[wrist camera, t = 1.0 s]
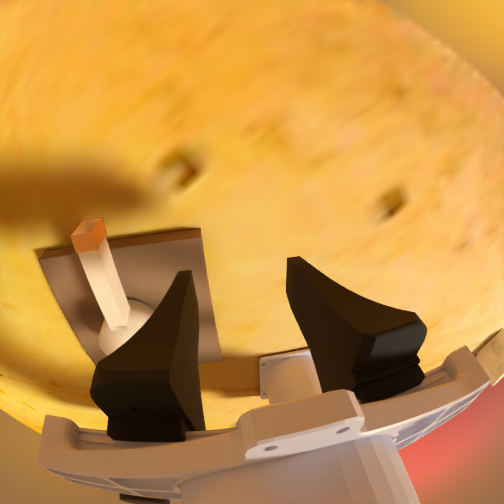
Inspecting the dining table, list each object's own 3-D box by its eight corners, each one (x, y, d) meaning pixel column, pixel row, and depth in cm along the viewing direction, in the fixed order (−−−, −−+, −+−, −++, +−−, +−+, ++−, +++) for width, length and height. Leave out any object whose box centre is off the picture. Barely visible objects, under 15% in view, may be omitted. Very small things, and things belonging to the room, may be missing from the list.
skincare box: (474, 361, 52) (492, 387, 43) (477, 351, 48) (497, 379, 40) (498, 338, 50) (517, 362, 41) (502, 327, 47) (523, 352, 38)
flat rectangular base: (220, 349, 28) (221, 361, 27) (99, 357, 26) (97, 368, 25) (200, 228, 21) (200, 237, 19) (45, 250, 19) (38, 259, 18)
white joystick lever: (167, 338, 23) (165, 365, 21) (117, 342, 23) (112, 367, 20) (129, 208, 17) (117, 228, 14) (67, 219, 16) (49, 239, 14)
